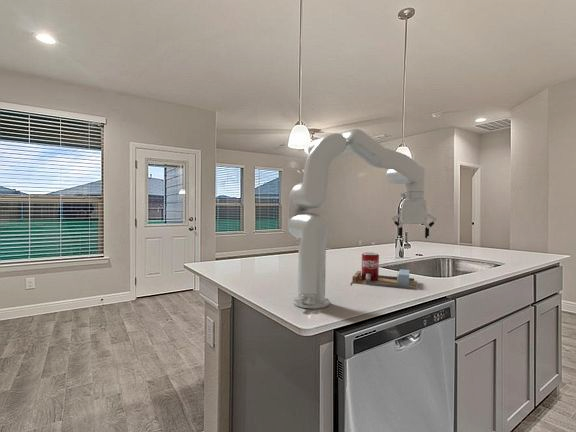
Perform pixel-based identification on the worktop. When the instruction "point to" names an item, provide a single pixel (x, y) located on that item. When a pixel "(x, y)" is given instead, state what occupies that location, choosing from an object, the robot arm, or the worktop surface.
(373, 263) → the soda can
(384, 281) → the board
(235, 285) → the worktop surface
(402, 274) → the jaw
